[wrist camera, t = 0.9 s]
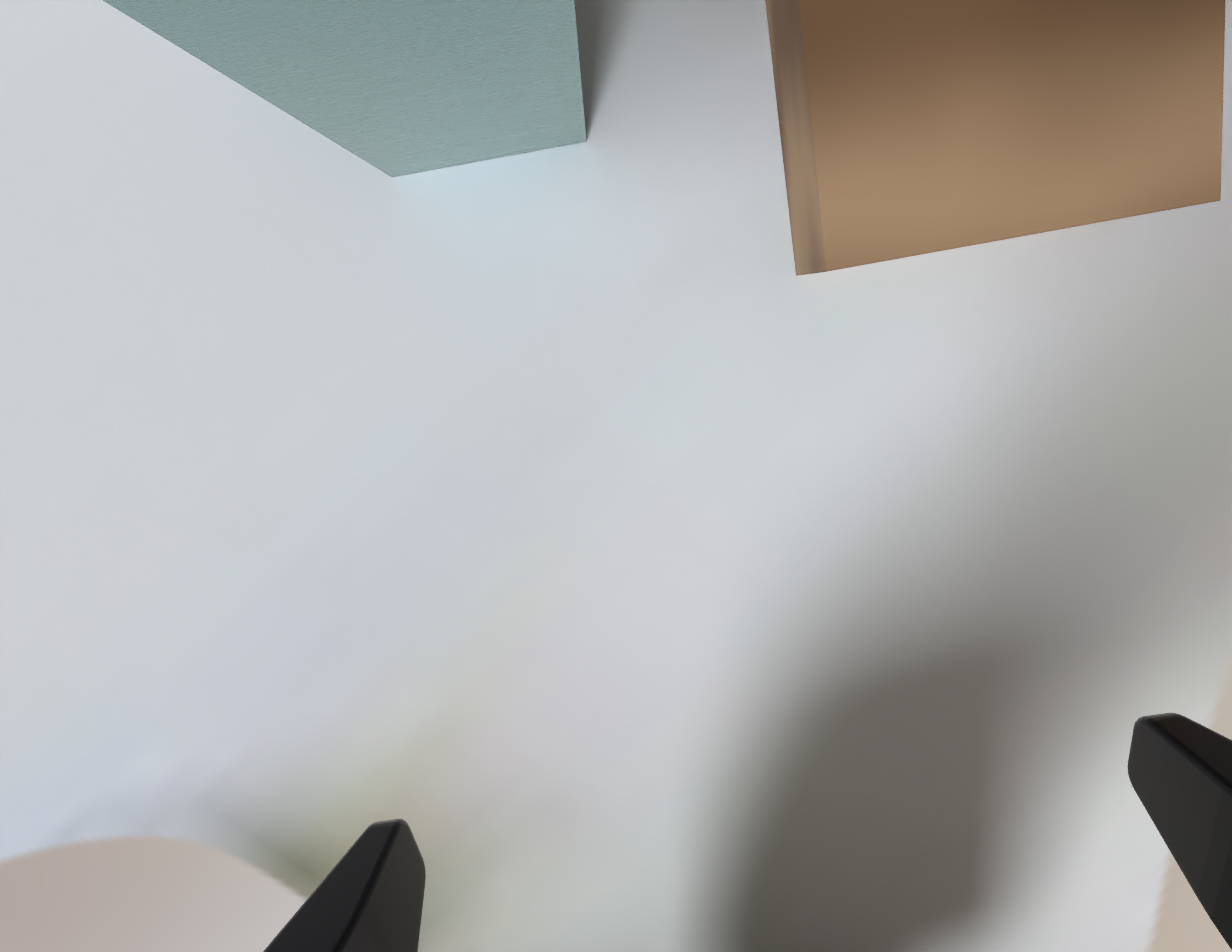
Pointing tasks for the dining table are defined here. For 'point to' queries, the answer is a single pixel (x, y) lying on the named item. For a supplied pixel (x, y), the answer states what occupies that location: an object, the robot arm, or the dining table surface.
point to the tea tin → (396, 70)
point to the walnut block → (989, 118)
